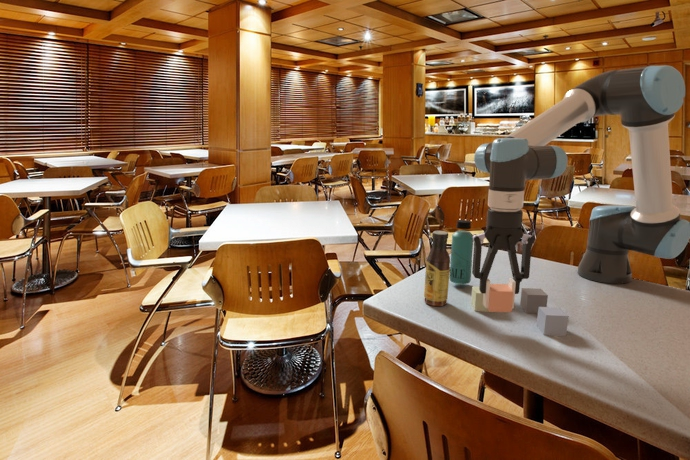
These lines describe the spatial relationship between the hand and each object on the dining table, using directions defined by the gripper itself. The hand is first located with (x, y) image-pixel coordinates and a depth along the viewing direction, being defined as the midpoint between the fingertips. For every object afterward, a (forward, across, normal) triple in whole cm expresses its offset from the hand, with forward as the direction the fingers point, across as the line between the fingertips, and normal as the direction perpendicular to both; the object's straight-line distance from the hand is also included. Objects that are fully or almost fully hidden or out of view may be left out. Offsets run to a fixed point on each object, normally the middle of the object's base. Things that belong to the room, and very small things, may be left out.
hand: (497, 305), depth 108 cm
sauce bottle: (+6, -12, +15) cm, 20 cm away
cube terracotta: (0, 0, 0) cm, 0 cm away
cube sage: (+6, 0, +13) cm, 14 cm away
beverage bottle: (+6, -4, +30) cm, 31 cm away
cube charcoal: (+6, +12, +13) cm, 19 cm away
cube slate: (+6, +12, 0) cm, 14 cm away
